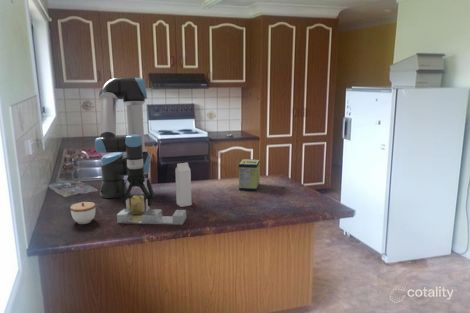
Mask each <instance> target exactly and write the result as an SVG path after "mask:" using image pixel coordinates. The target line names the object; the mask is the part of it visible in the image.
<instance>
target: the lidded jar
mask: <svg viewBox="0 0 470 313" xmlns="http://www.w3.org/2000/svg"><path fill="white" fill-rule="evenodd" d="M69 208H70V214H71V217H72V219H73V221H74V222H76V223H77V224H78V225H85V224H89V223H91V222H92V220H93V219H94V218H95V216H96V210H97V209H96V203H95V202H93V201H81V202H76V203H73V204H71V206H70V207H69Z"/></svg>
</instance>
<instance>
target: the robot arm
mask: <svg viewBox="0 0 470 313" xmlns="http://www.w3.org/2000/svg"><path fill="white" fill-rule="evenodd" d="M147 99H148V95H147V87H146V84H145V79H143V77H142V78H141V77H114V78H111V79H108V81H106V82H105V83H104V84H103V85H102V87H101V89H100V90H99V94H98V100H99V102H100V119H99V121H100V123H99V124H100V125H99V137H96V138H95V140H94V147H95V148H94V149H95V151H96V153H97V154H104V155H102V156H101V158H100V166H101V180H102V183H101V186H100V190H99V195H100V196H99V197H101V198H103V199H116V198H117V199H123V205H124V207H125V209H131V201H130V198H129V195H130V193H131V190H132V189H133V188H135V187H137V188H138V187H139V189H140V190H141V191H142V193H143V195H144V197H145V198H146V200H145V209H146V210H147V209H150V207H151V206H152V200H153V199H154V198H155V197H156V195H155V192H154V190H153V187H152V178H150V177H149V178H146V177H145V175H148V174H149V172H150V168H151V167H150V166H151V165H150V164H151V153H148V149H147V148H146V147H145V146H146V144H145V132H144V131H145V128H144V117H143V116H144V112H143V111H144V110H143V105H144V104H145V102H146V100H147ZM119 100H123V101H122V103H123V105H125V106H126V118H127V119H126V121H127V135H126V136H117V115H116V114H117V103H118V101H119ZM124 153H126V154H124ZM126 176H127V177H126ZM127 183H129V185H127ZM144 183H145V184H146V186H147V187H146V186H145V184H144ZM146 210H145V211H146Z"/></svg>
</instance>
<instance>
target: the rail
mask: <svg viewBox="0 0 470 313" xmlns="http://www.w3.org/2000/svg"><path fill="white" fill-rule="evenodd" d="M116 219H117V224H143V225H144V224H145V225H184V223H185V221H186V219H187V209H175V211H174V213H173V214H172V215H171V216H170V215H169V216H167V215H165V216H164V215H163V209H162V208H159V209H158V208H157V209H155V208H154V209H153V208H149V209H147V210H145V211H144V212H143V214H142V215H134V214H133V209H131V208H130V209H126V208H122V209H121V210H120V211H119V212H118V213H117V214H116Z"/></svg>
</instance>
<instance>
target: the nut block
mask: <svg viewBox="0 0 470 313" xmlns="http://www.w3.org/2000/svg"><path fill="white" fill-rule="evenodd" d="M129 200H130V209H133V215H140V216H142V214H143V213H144V212H145V211H146V210H145V209H146V204H145V195H144V194H143V195H142V194H140V195H138V194H137V195H136V194H135V195H134V194H133V196H132V197H130V198H129Z"/></svg>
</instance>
